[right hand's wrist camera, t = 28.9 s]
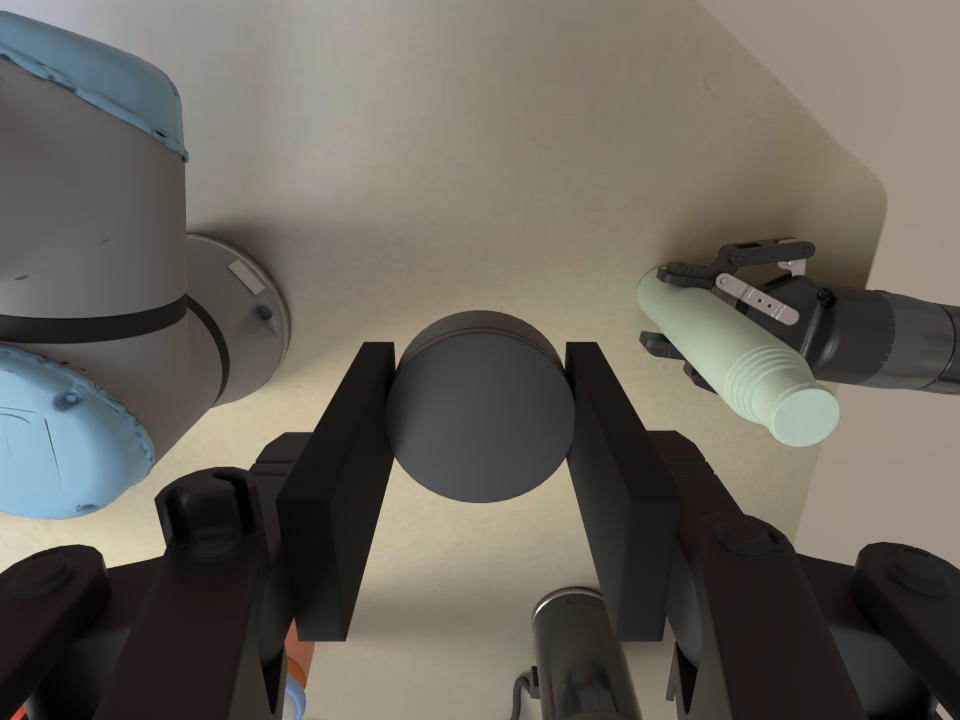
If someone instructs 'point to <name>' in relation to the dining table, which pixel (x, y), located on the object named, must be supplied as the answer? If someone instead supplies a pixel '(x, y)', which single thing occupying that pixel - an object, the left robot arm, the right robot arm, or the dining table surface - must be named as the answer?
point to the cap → (480, 408)
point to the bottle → (742, 361)
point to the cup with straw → (296, 674)
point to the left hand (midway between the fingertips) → (651, 308)
